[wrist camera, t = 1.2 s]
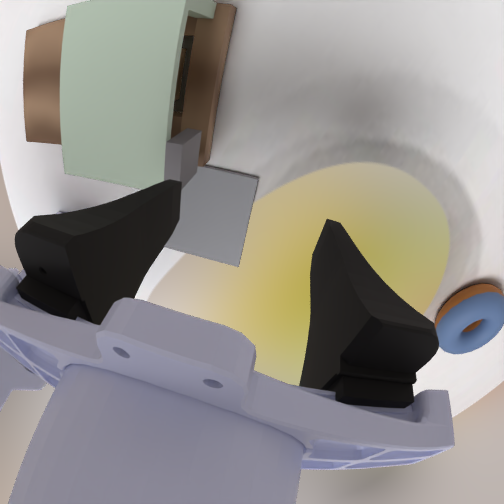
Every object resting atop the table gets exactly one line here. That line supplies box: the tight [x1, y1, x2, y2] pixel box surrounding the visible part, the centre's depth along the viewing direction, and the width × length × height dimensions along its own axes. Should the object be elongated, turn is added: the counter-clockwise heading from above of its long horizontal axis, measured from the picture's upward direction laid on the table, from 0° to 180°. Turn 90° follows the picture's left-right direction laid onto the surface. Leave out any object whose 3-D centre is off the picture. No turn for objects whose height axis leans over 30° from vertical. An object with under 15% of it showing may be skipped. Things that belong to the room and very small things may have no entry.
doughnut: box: [435, 284, 504, 354], centre depth 24 cm, size 10×10×5 cm
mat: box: [164, 165, 259, 267], centre depth 24 cm, size 9×9×1 cm
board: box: [23, 3, 237, 167], centre depth 17 cm, size 12×20×2 cm, turn 80°
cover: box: [60, 0, 217, 190], centre depth 14 cm, size 12×9×5 cm
